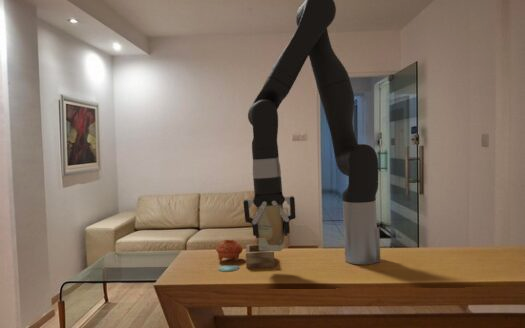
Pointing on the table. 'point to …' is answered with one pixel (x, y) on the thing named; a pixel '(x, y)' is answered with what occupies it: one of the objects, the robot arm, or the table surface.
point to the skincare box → (271, 229)
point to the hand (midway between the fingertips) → (271, 236)
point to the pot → (229, 250)
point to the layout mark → (228, 268)
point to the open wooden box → (258, 257)
